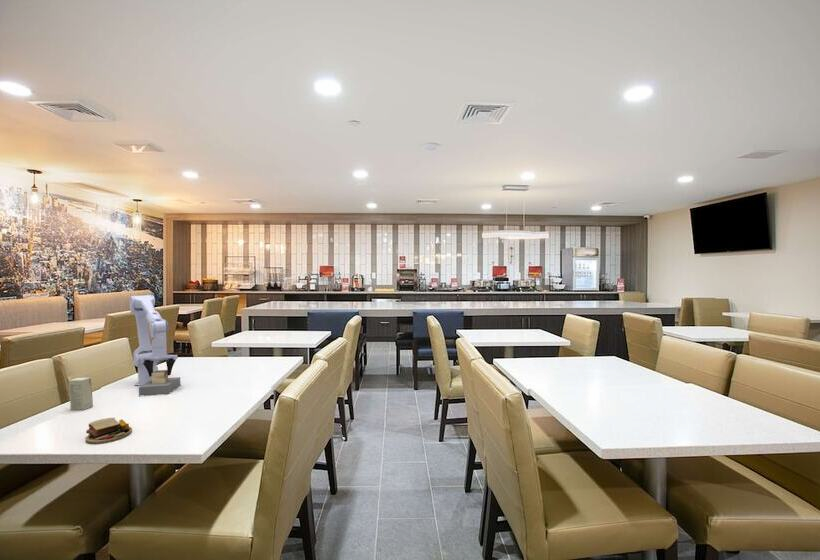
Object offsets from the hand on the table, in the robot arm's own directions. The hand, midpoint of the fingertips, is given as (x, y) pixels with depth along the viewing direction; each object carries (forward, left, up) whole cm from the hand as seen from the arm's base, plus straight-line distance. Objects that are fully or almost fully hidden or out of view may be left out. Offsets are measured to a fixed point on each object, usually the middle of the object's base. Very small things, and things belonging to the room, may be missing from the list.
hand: (160, 375), depth 184 cm
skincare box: (+19, -22, -7) cm, 30 cm away
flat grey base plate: (0, 0, -7) cm, 7 cm away
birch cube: (0, 0, -3) cm, 3 cm away
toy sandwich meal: (+53, +4, -8) cm, 54 cm away
